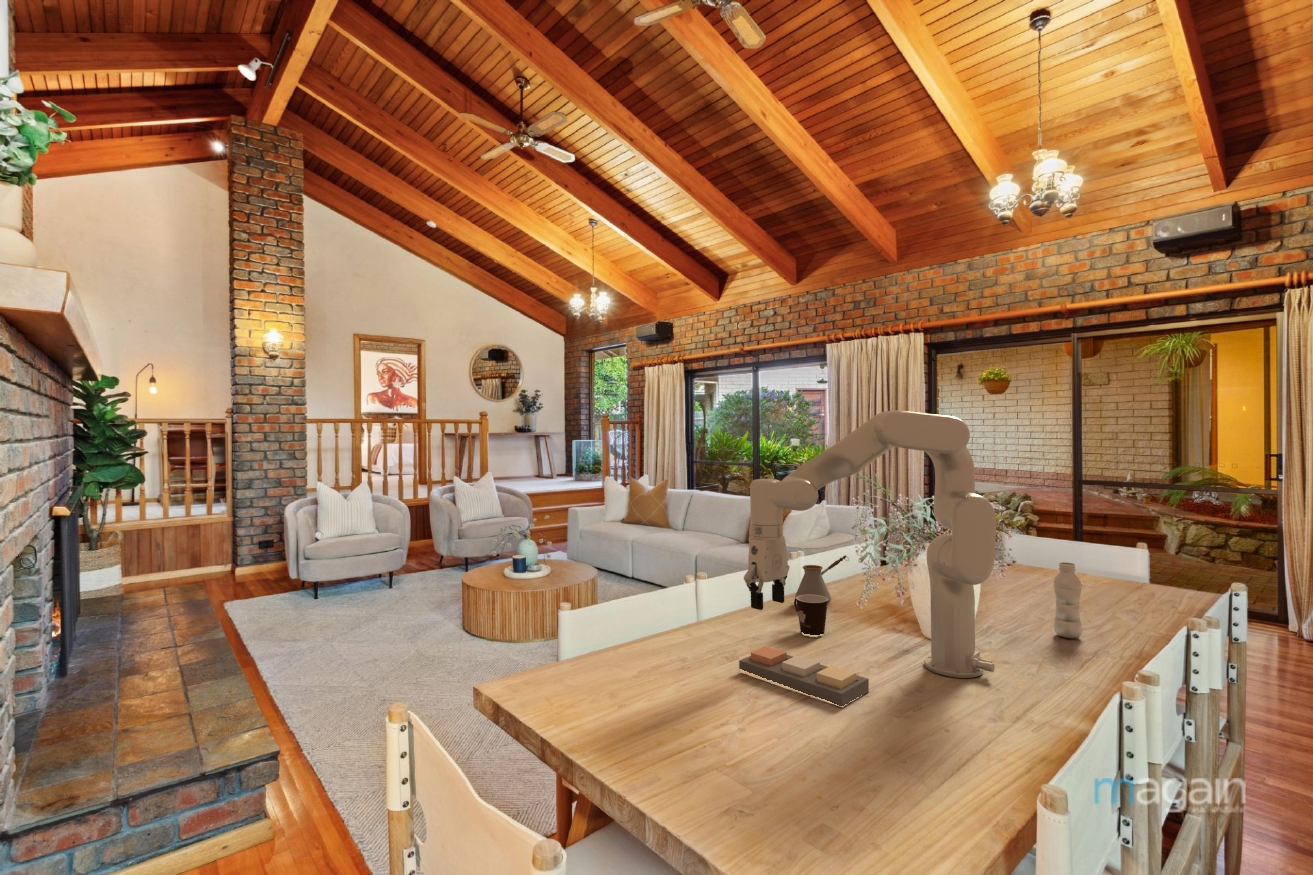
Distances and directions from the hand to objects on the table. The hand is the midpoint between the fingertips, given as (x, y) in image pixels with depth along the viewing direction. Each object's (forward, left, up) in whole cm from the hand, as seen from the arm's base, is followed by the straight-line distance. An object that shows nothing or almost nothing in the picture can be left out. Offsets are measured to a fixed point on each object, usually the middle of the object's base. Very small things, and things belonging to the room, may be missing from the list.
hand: (767, 604), depth 148 cm
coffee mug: (+9, -32, -16) cm, 37 cm away
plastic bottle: (-43, -76, -16) cm, 89 cm away
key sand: (-18, 0, -13) cm, 22 cm away
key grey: (-9, 0, -13) cm, 16 cm away
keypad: (-9, 0, -16) cm, 18 cm away
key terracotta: (0, 0, -13) cm, 13 cm away
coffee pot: (+22, -60, -16) cm, 66 cm away
